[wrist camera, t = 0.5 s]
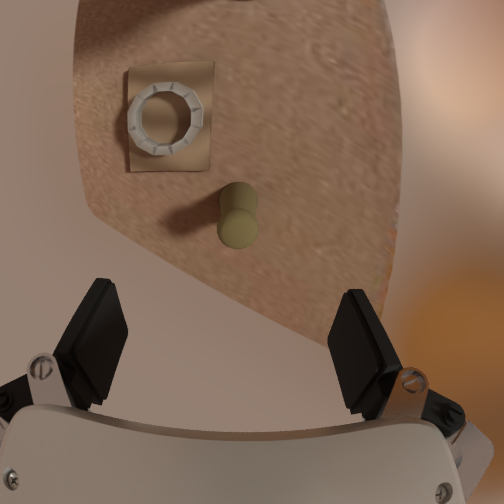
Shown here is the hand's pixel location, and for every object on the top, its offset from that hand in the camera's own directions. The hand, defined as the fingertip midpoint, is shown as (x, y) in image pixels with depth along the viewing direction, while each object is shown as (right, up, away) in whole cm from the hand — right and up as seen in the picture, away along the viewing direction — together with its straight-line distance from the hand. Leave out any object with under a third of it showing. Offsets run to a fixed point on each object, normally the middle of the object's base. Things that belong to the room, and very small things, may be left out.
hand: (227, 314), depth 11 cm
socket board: (-11, +22, +23) cm, 33 cm away
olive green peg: (-1, +11, +31) cm, 33 cm away
